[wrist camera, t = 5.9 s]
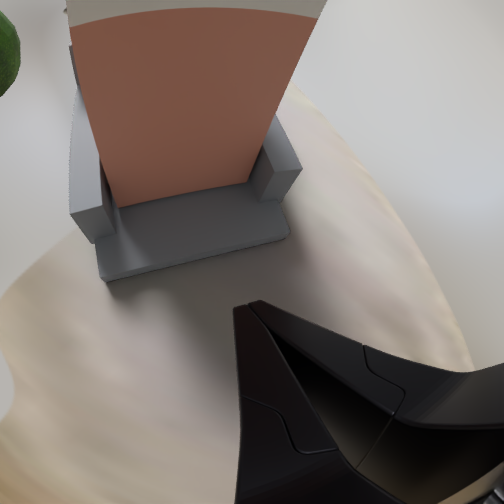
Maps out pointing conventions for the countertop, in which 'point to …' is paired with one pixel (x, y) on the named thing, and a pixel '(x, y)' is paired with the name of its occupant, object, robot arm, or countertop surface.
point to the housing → (176, 207)
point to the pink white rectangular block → (184, 86)
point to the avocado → (8, 53)
